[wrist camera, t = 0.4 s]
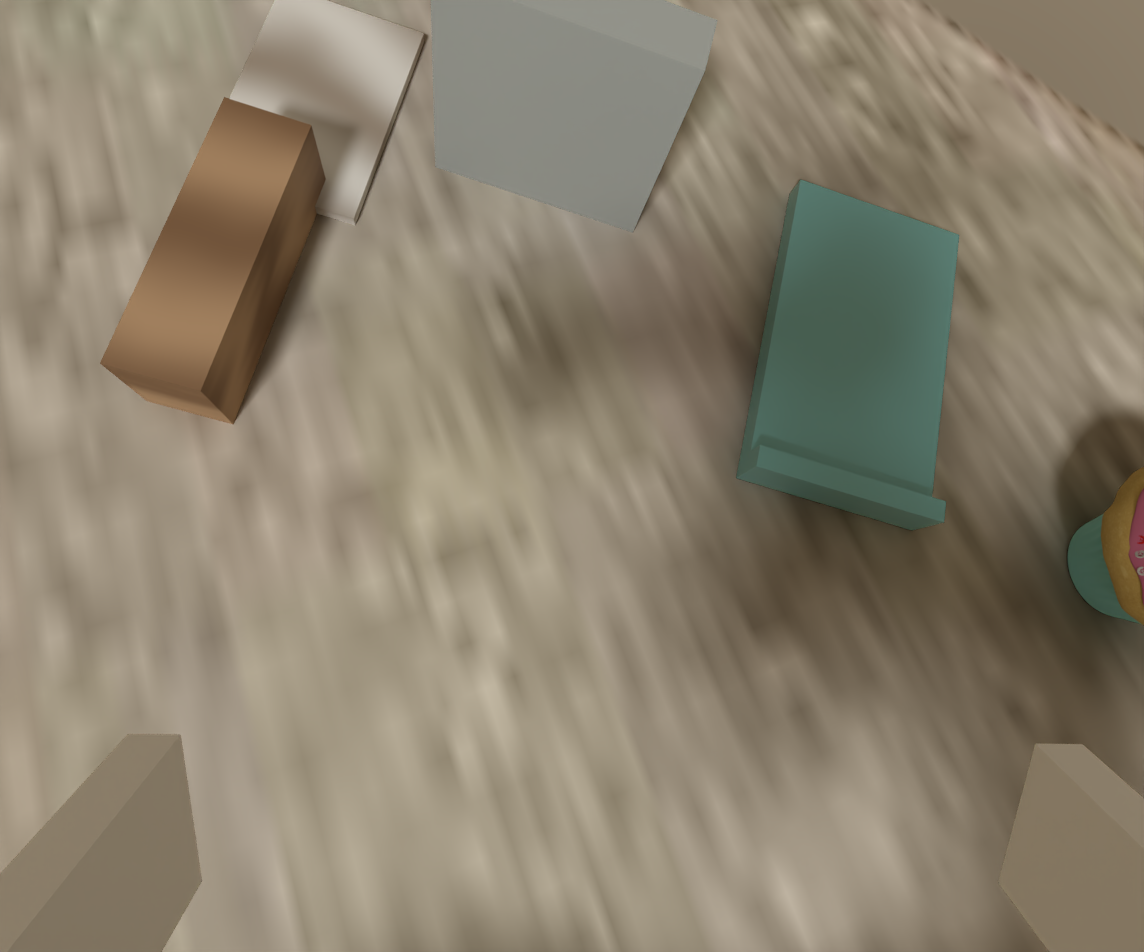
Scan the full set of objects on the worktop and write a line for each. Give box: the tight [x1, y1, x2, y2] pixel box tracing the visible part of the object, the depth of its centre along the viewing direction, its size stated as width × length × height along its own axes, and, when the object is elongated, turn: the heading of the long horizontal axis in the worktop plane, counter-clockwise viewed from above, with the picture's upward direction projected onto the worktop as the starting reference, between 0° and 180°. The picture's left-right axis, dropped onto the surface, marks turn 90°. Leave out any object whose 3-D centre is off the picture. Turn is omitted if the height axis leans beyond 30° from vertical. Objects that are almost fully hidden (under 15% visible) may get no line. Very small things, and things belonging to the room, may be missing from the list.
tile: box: [431, 0, 717, 232], centre depth 29 cm, size 3×10×10 cm, turn 76°
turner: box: [100, 0, 424, 424], centre depth 29 cm, size 22×7×4 cm, turn 167°
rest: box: [736, 180, 959, 530], centre depth 33 cm, size 16×9×2 cm, turn 166°
